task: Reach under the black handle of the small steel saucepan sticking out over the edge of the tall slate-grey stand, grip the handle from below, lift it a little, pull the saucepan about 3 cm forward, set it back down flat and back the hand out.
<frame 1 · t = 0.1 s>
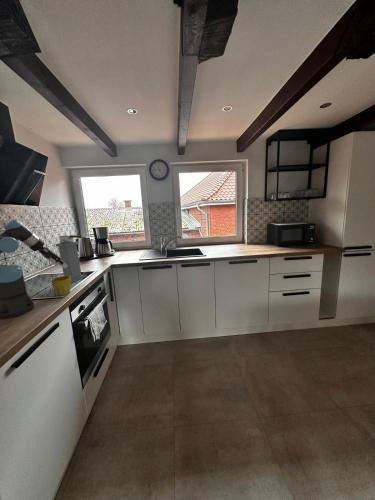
hand: (62, 265, 131), 15 cm above the worktop, tool tilted 35°, fingers open, 13 cm apart
stand: (73, 279, 150), on the worktop
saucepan: (67, 242, 144), point 28 cm above the worktop, touching stand
plant pot: (64, 293, 124), on the worktop
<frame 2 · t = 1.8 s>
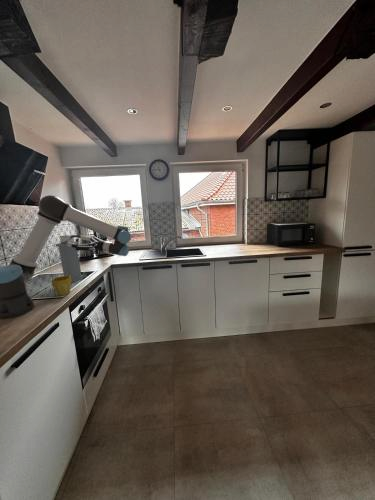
hand: (74, 240, 134), 31 cm above the worktop, tool horizontal, fingers open, 13 cm apart
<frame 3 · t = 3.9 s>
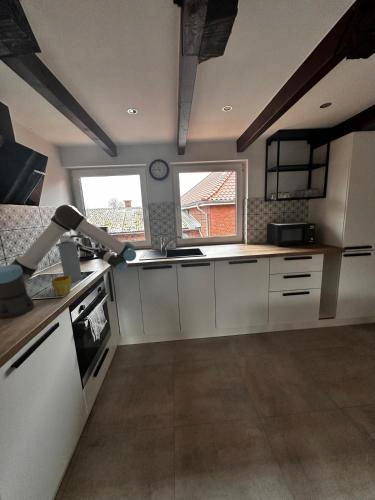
hand: (83, 240, 140), 30 cm above the worktop, tool pointing upward, fingers open, 13 cm apart
nothing on the worktop moved.
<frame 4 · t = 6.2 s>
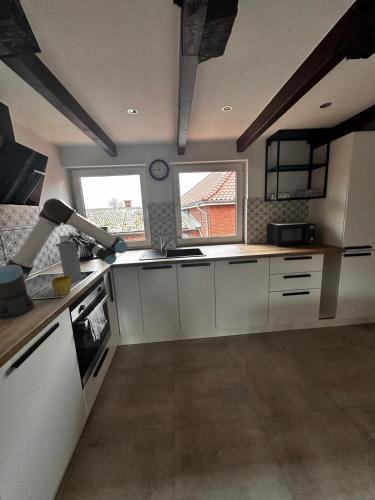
hand: (70, 232, 141), 35 cm above the worktop, tool pointing upward, fingers closed on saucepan, 2 cm apart
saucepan: (67, 242, 144), point 28 cm above the worktop, touching gripper, stand
everything else where it was.
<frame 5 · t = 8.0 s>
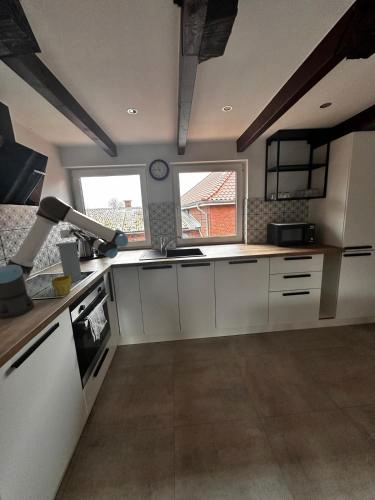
hand: (71, 226, 140), 39 cm above the worktop, tool pointing upward, fingers closed on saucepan, 2 cm apart
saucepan: (68, 237, 143), point 32 cm above the worktop, touching gripper
everything else where it was.
when the fingers open (36 cm above the worktop, at t = 9.5 s): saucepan stays where it is, resting on stand.
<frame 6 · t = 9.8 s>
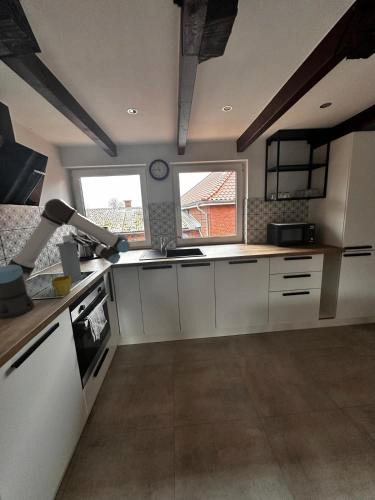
hand: (73, 232, 140), 36 cm above the worktop, tool pointing upward, fingers open, 6 cm apart
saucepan: (70, 242, 143), point 28 cm above the worktop, touching stand
everything else where it was.
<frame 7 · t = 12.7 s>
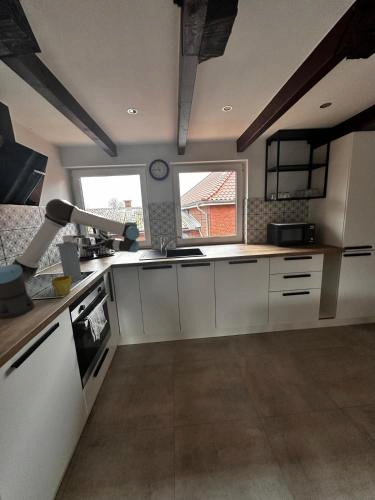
hand: (84, 240, 133), 30 cm above the worktop, tool horizontal, fingers open, 13 cm apart
nothing on the worktop moved.
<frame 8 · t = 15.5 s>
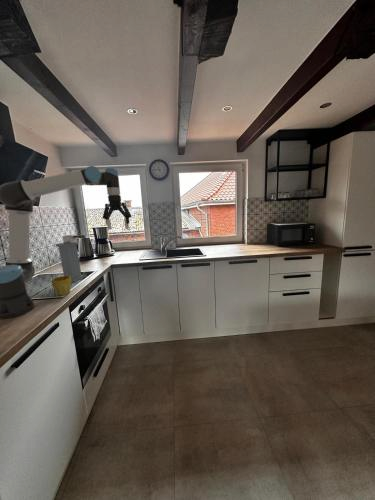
hand: (118, 229, 129), 37 cm above the worktop, tool pointing down, fingers open, 13 cm apart
nothing on the worktop moved.
at the end: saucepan moved 3.4 cm from its start; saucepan point 28.0 cm above the worktop; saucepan tilted 0° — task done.
